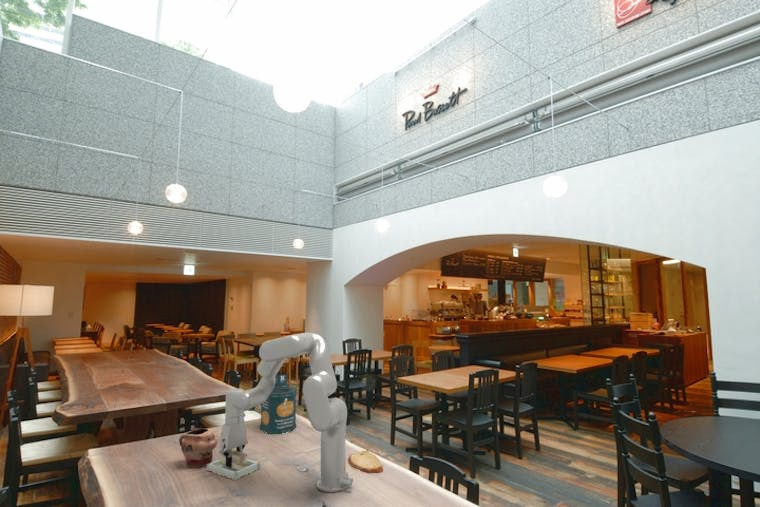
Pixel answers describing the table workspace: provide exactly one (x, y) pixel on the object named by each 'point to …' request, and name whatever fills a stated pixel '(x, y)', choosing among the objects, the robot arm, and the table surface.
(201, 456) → the decorative planter
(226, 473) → the tray
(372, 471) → the tan flat crusted slab
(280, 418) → the donation box
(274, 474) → the table surface
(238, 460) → the birch block
